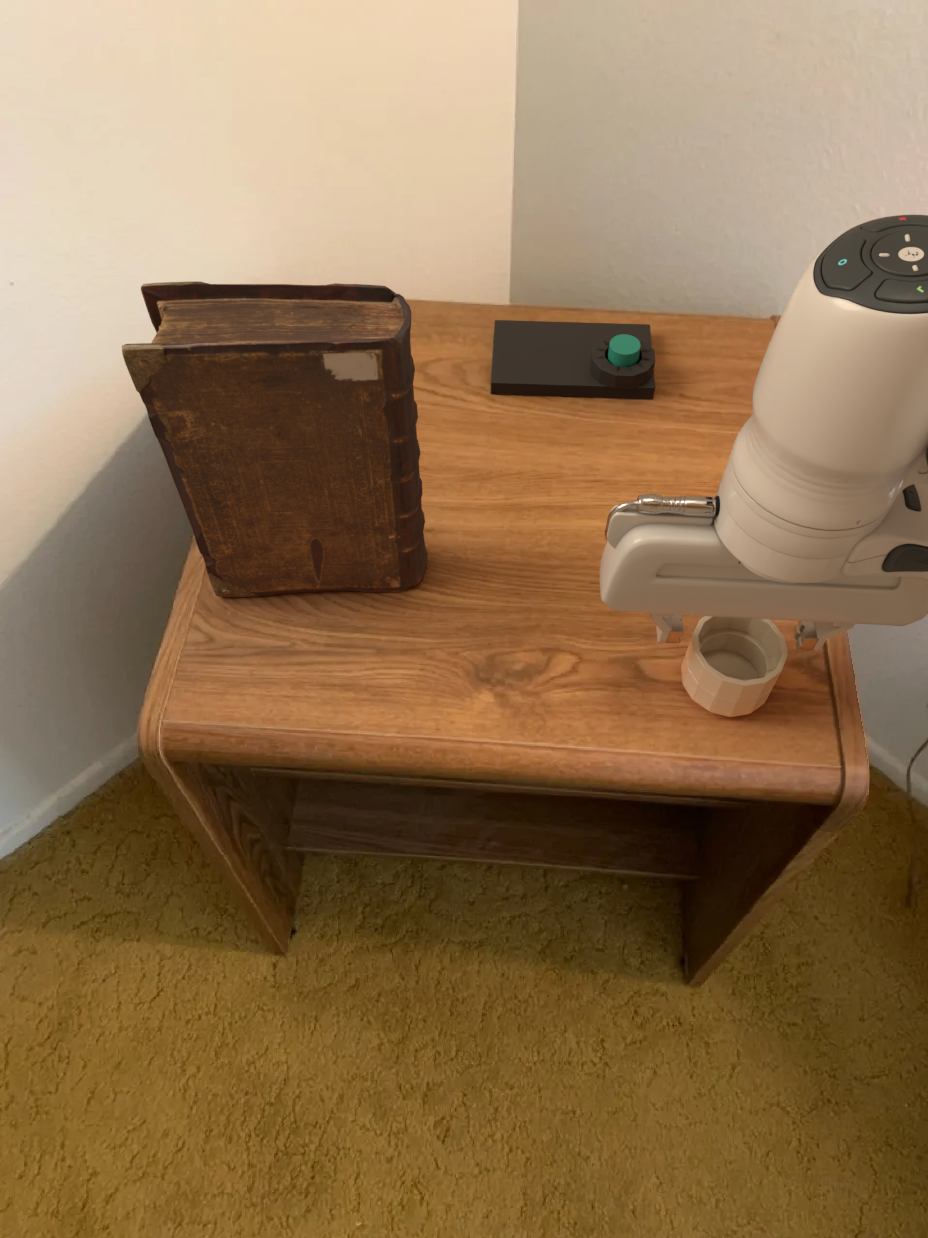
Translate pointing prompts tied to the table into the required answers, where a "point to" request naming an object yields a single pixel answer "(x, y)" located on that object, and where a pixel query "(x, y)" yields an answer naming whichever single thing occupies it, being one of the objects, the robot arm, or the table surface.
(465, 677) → the table surface
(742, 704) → the beige cup
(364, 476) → the book
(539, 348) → the scale
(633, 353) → the button
